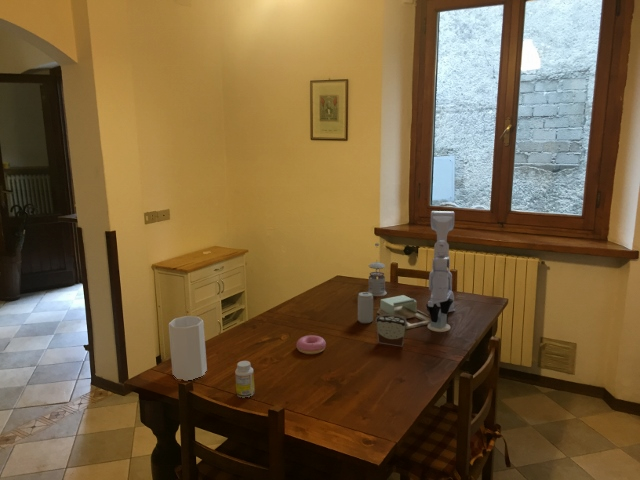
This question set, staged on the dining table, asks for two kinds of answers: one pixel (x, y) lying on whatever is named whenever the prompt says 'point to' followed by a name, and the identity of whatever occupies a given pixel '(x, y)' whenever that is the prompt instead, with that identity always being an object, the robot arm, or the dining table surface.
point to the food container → (391, 329)
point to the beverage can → (365, 307)
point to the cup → (187, 347)
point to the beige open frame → (410, 316)
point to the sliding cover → (397, 303)
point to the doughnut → (311, 344)
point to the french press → (377, 284)
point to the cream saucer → (439, 329)
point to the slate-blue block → (440, 321)
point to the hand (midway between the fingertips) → (439, 319)
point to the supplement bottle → (244, 379)
